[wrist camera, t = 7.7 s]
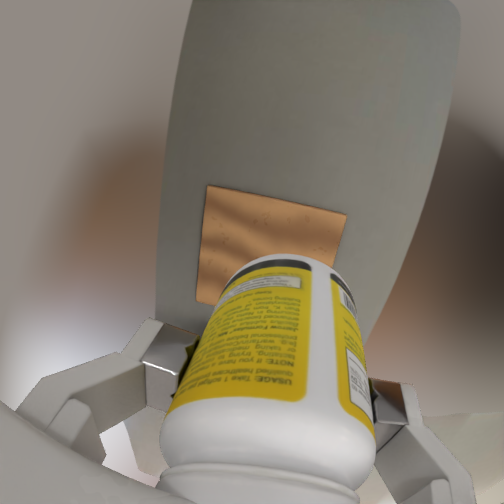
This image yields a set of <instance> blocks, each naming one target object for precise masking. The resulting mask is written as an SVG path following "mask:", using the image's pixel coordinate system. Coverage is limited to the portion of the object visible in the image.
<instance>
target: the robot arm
mask: <svg viewBox="0 0 504 504" xmlns="http://www.w3.org/2000/svg"><path fill="white" fill-rule="evenodd" d="M199 340H200V336H199V335H197V334H194V333H191V332H189V331H186V330H183V329H180V328H177V327H175V326H172V325H169V324H167V323H166V324H165V323H163V322H160V321H157V320H155V319H152V318H150V317H149V318H148V319H146V320H145V321H144V322H143V324H142V325H141V326H140V327H139V329H138V330H137V332H136V333H135V334H134V336H133V337H132V338H131V340H130V341H129V343H128V344H127V345H126V347H125V348H124V349H123V351H122V352H121V354H120V353H117V352H114V353H111V354H108V355H106V356H103V357H100V358H97V359H95V360H92V361H89V362H86V363H84V364H81V365H78V366H75V367H72V368H69V369H67V370H64V371H61V372H58V373H55V374H52V375H49V376H46V377H43V378H42V379H41V380H40V381H39V382H38V384H37V385H36V386H35V387H34V388H33V389H32V391H31V392H30V393H29V394H28V396H27V397H26V398H25V399H24V401H23V402H22V403H21V404H20V406H19V407H18V408H17V410H16V411H13V410H12V409H11V408H9V407H8V406H7V405H5V404H4V403H3V402H1V401H0V504H197V503H195V502H193V501H191V500H188V499H186V498H182V497H179V496H176V495H173V494H170V493H168V492H165V491H162V490H159V489H156V488H154V487H151V486H149V485H146V484H143V483H141V482H139V481H136V480H134V479H131V478H129V477H127V476H124V475H122V474H120V473H118V472H116V471H113V470H111V469H109V468H107V467H105V466H103V465H102V462H103V461H104V459H105V457H106V453H105V450H104V447H103V445H102V442H101V439H100V436H99V434H100V433H102V432H104V431H106V430H108V429H109V428H111V427H113V426H115V425H116V424H118V423H120V422H121V421H123V420H125V419H127V418H128V417H130V416H132V415H133V414H135V413H137V412H138V411H140V410H142V409H143V408H145V407H146V405H147V406H150V407H152V408H155V409H158V410H161V411H164V412H168V409H169V407H170V405H171V403H172V400H173V398H174V396H175V394H176V392H177V389H178V387H179V385H180V383H181V381H182V378H183V376H184V374H185V372H186V370H187V367H188V365H189V363H190V361H191V359H192V357H193V354H194V352H195V350H196V348H197V346H198V343H199ZM368 384H369V391H370V398H371V406H372V414H373V422H374V431H375V440H376V456H375V462H374V465H375V467H376V469H377V470H378V472H379V474H380V476H381V477H382V479H383V481H384V483H385V484H386V486H387V488H388V489H389V491H390V493H391V495H392V496H393V498H394V500H395V501H396V503H397V504H477V503H476V498H475V492H474V487H473V482H472V478H471V475H470V473H469V472H468V471H467V470H466V469H465V468H464V467H463V465H462V464H461V463H460V462H459V461H458V460H457V459H456V457H455V456H454V455H453V454H452V453H451V452H450V451H449V449H448V448H447V447H446V446H445V445H444V444H443V443H442V442H441V440H440V439H439V438H438V437H437V436H436V435H435V434H434V433H433V431H432V430H431V429H430V428H429V427H427V426H424V423H423V419H422V414H421V410H420V406H419V402H418V398H417V395H416V391H415V388H414V386H413V385H412V384H407V383H400V382H392V381H386V380H380V379H373V378H368ZM501 504H504V503H501Z"/></svg>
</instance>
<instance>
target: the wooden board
mask: <svg viewBox="0 0 504 504" xmlns="http://www.w3.org/2000/svg"><path fill="white" fill-rule="evenodd" d="M346 219H347V215H346V214H342V213H338V212H334V211H330V210H326V209H321V208H317V207H313V206H309V205H304V204H300V203H295V202H291V201H286V200H282V199H277V198H272V197H267V196H263V195H258V194H253V193H248V192H243V191H238V190H233V189H228V188H222V187H217V186H212V185H208V186H207V194H206V202H205V211H204V220H203V229H202V239H201V249H200V259H199V270H198V281H197V293H196V301H198V302H202V303H206V304H210V305H214V306H216V304H217V302H218V300H219V297H220V295H221V293H222V292H223V290H224V288H225V286H226V284H227V283H228V281H229V280H230V278H231V277H232V276H233V275H234V274H235V273H236V272H237V271H238V270H239V269H240V268H242V267H243V266H244V265H246V264H248V263H249V262H251V261H253V260H256V259H258V258H261V257H264V256H268V255H273V254H295V255H301V256H305V257H309V258H312V259H315V260H317V261H320V262H322V263H324V264H326V265H327V266H329V267H330V268H332V266H333V262H334V259H335V256H336V253H337V249H338V246H339V243H340V239H341V236H342V233H343V229H344V226H345V222H346Z"/></svg>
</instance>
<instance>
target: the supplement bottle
mask: <svg viewBox="0 0 504 504" xmlns="http://www.w3.org/2000/svg"><path fill="white" fill-rule="evenodd" d="M159 442H160V449H161V452H162V455H163V457H164V459H165V461H166V462H167V464H168V465H169V467H170V468H168V469H166V470H165V471H163V472H162V474H161V476H160V481H159V482H158V483H157V485H156V487H155V488H156V489H159V490H162V491H165V492H168V493H170V494H173V495H176V496H179V497H182V498H186V499H188V500H191V501H193V502H195V503H197V504H360V498H359V496H358V495H357V494H356V493H355V492H354V491H355V490H356V489H358V488H359V487H360V486H361V485H362V484H363V483H364V481H365V480H366V479H367V478H368V476H369V474H370V473H371V471H372V468H373V465H374V462H375V456H376V440H375V431H374V422H373V414H372V406H371V398H370V391H369V384H368V376H367V370H366V364H365V356H364V350H363V345H362V339H361V333H360V328H359V323H358V318H357V312H356V307H355V303H354V299H353V296H352V293H351V291H350V289H349V287H348V286H347V284H346V283H345V281H344V280H343V279H342V277H341V276H340V275H339V274H338V273H337V272H335V271H334V270H333V269H332V268H330V267H329V266H327V265H326V264H324V263H322V262H320V261H317V260H315V259H312V258H309V257H305V256H301V255H295V254H273V255H268V256H264V257H261V258H258V259H256V260H253V261H251V262H249V263H248V264H246V265H244V266H243V267H242V268H240V269H239V270H238V271H237V272H236V273H235V274H234V275H233V276H232V277H231V278H230V280H229V281H228V283H227V284H226V286H225V288H224V290H223V292H222V293H221V295H220V297H219V300H218V302H217V304H216V307H215V309H214V311H213V313H212V315H211V317H210V320H209V322H208V324H207V326H206V328H205V330H204V333H203V335H202V337H201V339H200V341H199V343H198V346H197V348H196V350H195V352H194V354H193V357H192V359H191V361H190V363H189V365H188V367H187V370H186V372H185V374H184V376H183V378H182V381H181V383H180V385H179V387H178V389H177V392H176V394H175V396H174V398H173V400H172V403H171V405H170V407H169V409H168V412H167V414H166V416H165V418H164V421H163V423H162V427H161V431H160V437H159Z"/></svg>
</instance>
